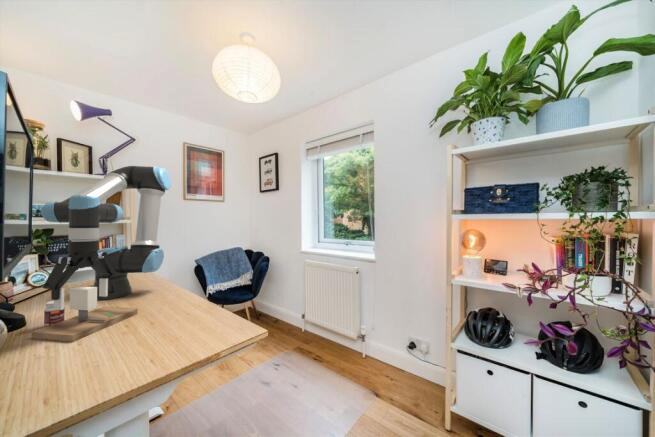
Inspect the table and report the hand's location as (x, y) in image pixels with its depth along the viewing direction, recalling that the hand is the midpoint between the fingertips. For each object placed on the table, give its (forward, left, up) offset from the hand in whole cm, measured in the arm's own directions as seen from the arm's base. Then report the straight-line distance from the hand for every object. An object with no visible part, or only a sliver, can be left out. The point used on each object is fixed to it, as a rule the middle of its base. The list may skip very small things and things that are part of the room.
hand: (82, 302), depth 84 cm
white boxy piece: (0, +2, -6) cm, 7 cm away
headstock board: (-2, 0, -9) cm, 9 cm away
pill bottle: (0, -11, -9) cm, 14 cm away
